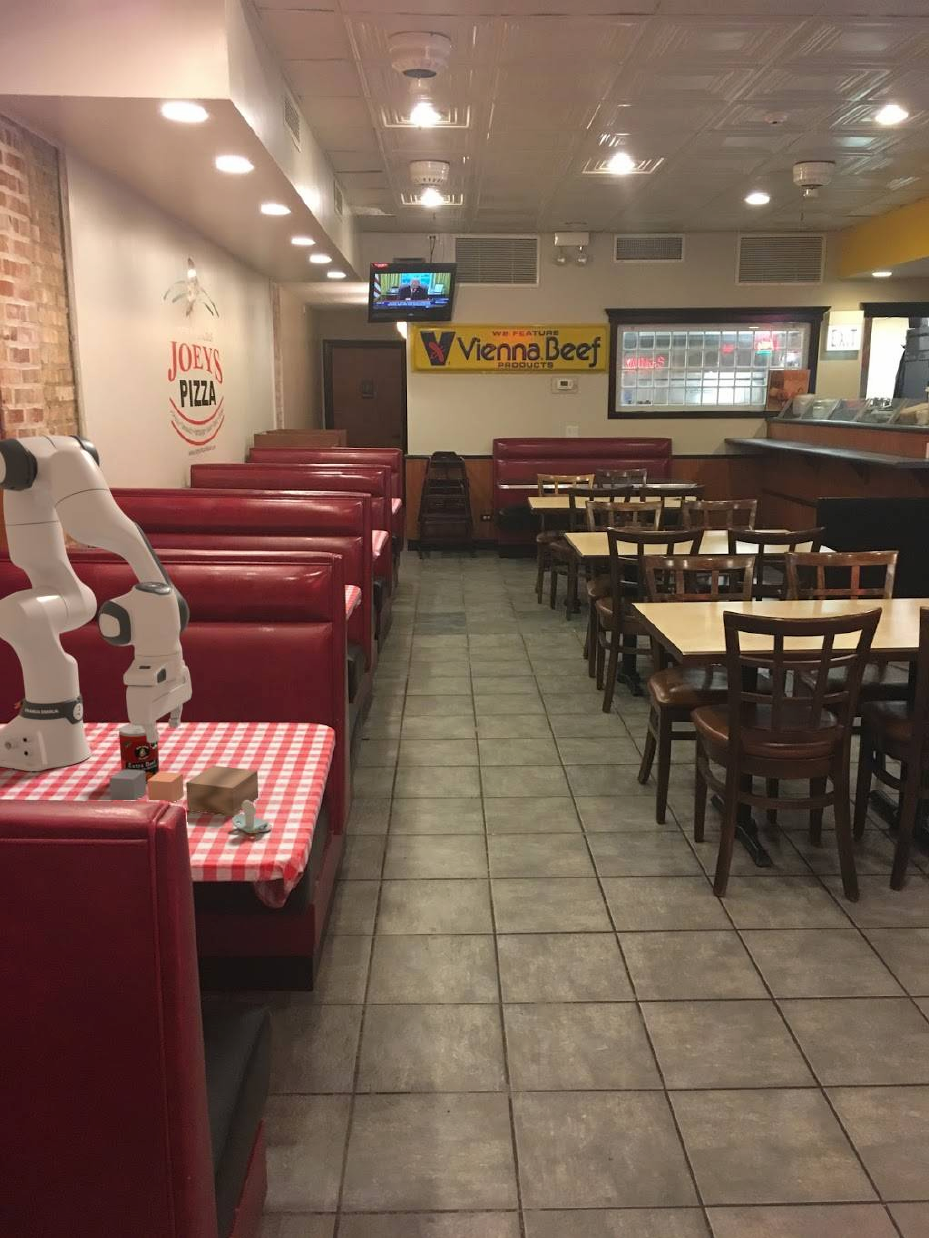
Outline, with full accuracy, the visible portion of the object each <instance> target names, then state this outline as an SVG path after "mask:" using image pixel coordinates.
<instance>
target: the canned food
mask: <svg viewBox="0 0 929 1238" xmlns="http://www.w3.org/2000/svg"><path fill="white" fill-rule="evenodd" d="M155 729H156V732H158V727H157V724H156V725H155ZM118 731H119V737H118V739H119V740H118V741H119V752H120V753H119V754H120V767H121V769H120V770H122V769H125V770H141V771H145V775H146V783H148V780H149V779H150V778H152V777H153V776H154V775H156V774H157V773H158V772H160V759H159V758H160V755H159V740H158V741H156V742H155V743H149V742H147V734H146V733H145V731H144V729H143V727H142V726H139V725H132V724H131V723H129V724H125V725H123V726H121V727H120V728H119V730H118Z"/></svg>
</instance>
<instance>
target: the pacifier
mask: <svg viewBox="0 0 929 1238" xmlns="http://www.w3.org/2000/svg"><path fill="white" fill-rule="evenodd" d="M242 812H243V813H238V814H237V815H235V816H234V817H232V825H233V826H234V827H235V828H237V829H239V830H242V831H243V832H244V831H245V833H247V834H252V833H255V834H258V833H263V832H264V833H266V832H269V831H271V830H272V829H273V825H272V824H271V823H270V822H269V821H267V820H264V819H262V818H258V817H256V816H255V815H256V813H257V812H256V807H255V804H253V802H252V803H251V802H250V801H249V800H245V801H244V802H243V803H242Z"/></svg>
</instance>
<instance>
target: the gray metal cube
mask: <svg viewBox="0 0 929 1238" xmlns="http://www.w3.org/2000/svg"><path fill="white" fill-rule="evenodd" d="M109 789H110V801H111V800H138V801H139V800H140V799H141V798H143V797H145V796H146V795H148V794H147V793H148V792H147V782H146V775H145V771H141V770H125V769H122V770H121V769H120V770H119V771H118V772H116V773H114V774H113V775H112V776H110V777H109ZM138 798H140V799H138Z"/></svg>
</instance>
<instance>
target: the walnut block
mask: <svg viewBox="0 0 929 1238" xmlns="http://www.w3.org/2000/svg"><path fill="white" fill-rule="evenodd" d="M258 776H259V775H258V770H255V769H247V768H246V769H245V768H238V767H231V766H230V767H228V766H220V765H212V766H210V767H208V768H207V769H205V770H204V771H202V772H200V773H199V774H197V775H196V776H194V777H192V778H191V779H189V780H188V781H186V784H185V786H186V806H187V810H188V809H189V811H188V812H191V811H190V810H193V811H200V812H199V813H201V812H207V813H206V814H209V813H214V814H213V815H217V814H221V815H220V816H225V815H229V816H228V817H232V816H235V815H236V814H237V813H238V812H239V811H240V810H242V803H243V802H244V801H245V800H249V801H250V802H252V803H253V802H255V801H256V800H257V799H259V777H258ZM254 800H255V801H254ZM193 811H192V812H193ZM242 811H243V810H242ZM239 813H240V812H239ZM239 813H238V814H239Z"/></svg>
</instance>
